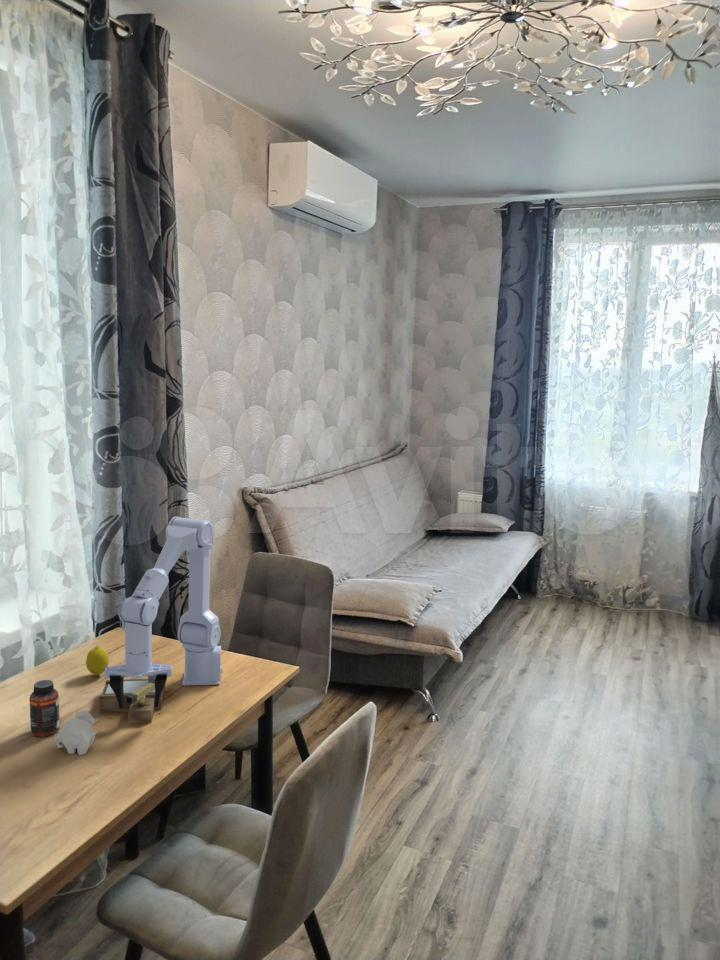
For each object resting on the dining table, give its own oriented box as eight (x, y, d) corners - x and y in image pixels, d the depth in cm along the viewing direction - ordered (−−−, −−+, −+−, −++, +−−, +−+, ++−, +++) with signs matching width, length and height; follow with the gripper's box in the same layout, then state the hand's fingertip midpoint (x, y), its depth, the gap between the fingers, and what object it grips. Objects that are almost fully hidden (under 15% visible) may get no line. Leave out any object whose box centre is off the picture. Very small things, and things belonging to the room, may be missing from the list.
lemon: (104, 680, 188) (103, 651, 187) (83, 679, 188) (82, 650, 187) (112, 671, 193) (111, 642, 192) (91, 670, 193) (90, 641, 192)
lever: (149, 696, 173) (149, 682, 173) (155, 698, 173) (155, 683, 172) (126, 711, 166) (126, 696, 165) (132, 713, 165) (132, 698, 165)
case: (165, 690, 184) (165, 677, 183) (158, 722, 168) (158, 707, 168) (107, 692, 182) (106, 678, 181) (94, 724, 166) (94, 709, 165)
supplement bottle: (66, 728, 164) (64, 681, 162) (44, 740, 159) (42, 691, 157) (46, 722, 166) (44, 675, 164) (24, 733, 161) (22, 685, 159)
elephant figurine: (60, 738, 160) (59, 707, 159) (104, 740, 160) (103, 710, 158) (44, 757, 152) (43, 725, 151) (90, 759, 152) (89, 728, 151)
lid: (160, 682, 181) (160, 667, 181) (157, 694, 175) (157, 679, 175) (109, 684, 179) (109, 669, 179) (104, 696, 173) (104, 680, 173)
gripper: (101, 657, 159) (102, 716, 161) (170, 655, 161) (170, 713, 163) (107, 644, 166) (108, 701, 168) (173, 643, 168) (173, 698, 170)
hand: (139, 706), depth 166 cm, fingers open, 7 cm apart
